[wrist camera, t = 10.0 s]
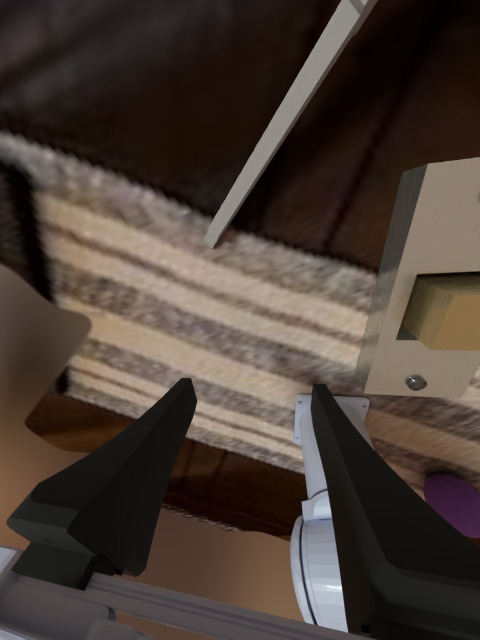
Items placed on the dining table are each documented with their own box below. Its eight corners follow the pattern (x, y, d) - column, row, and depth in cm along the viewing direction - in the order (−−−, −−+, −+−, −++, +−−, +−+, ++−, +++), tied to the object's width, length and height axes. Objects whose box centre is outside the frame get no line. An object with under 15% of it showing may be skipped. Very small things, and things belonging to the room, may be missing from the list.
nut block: (443, 316, 17) (500, 351, 13) (392, 316, 18) (430, 349, 14) (463, 270, 15) (537, 293, 11) (405, 273, 16) (454, 295, 12)
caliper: (465, -165, 8) (848, -919, 3) (479, -138, 8) (861, -788, 3) (204, 240, 17) (172, 252, 12) (214, 248, 18) (187, 264, 12)
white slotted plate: (439, 378, 20) (462, 401, 18) (354, 375, 21) (364, 396, 19) (552, 153, 12) (625, 138, 9) (402, 172, 13) (431, 162, 11)
